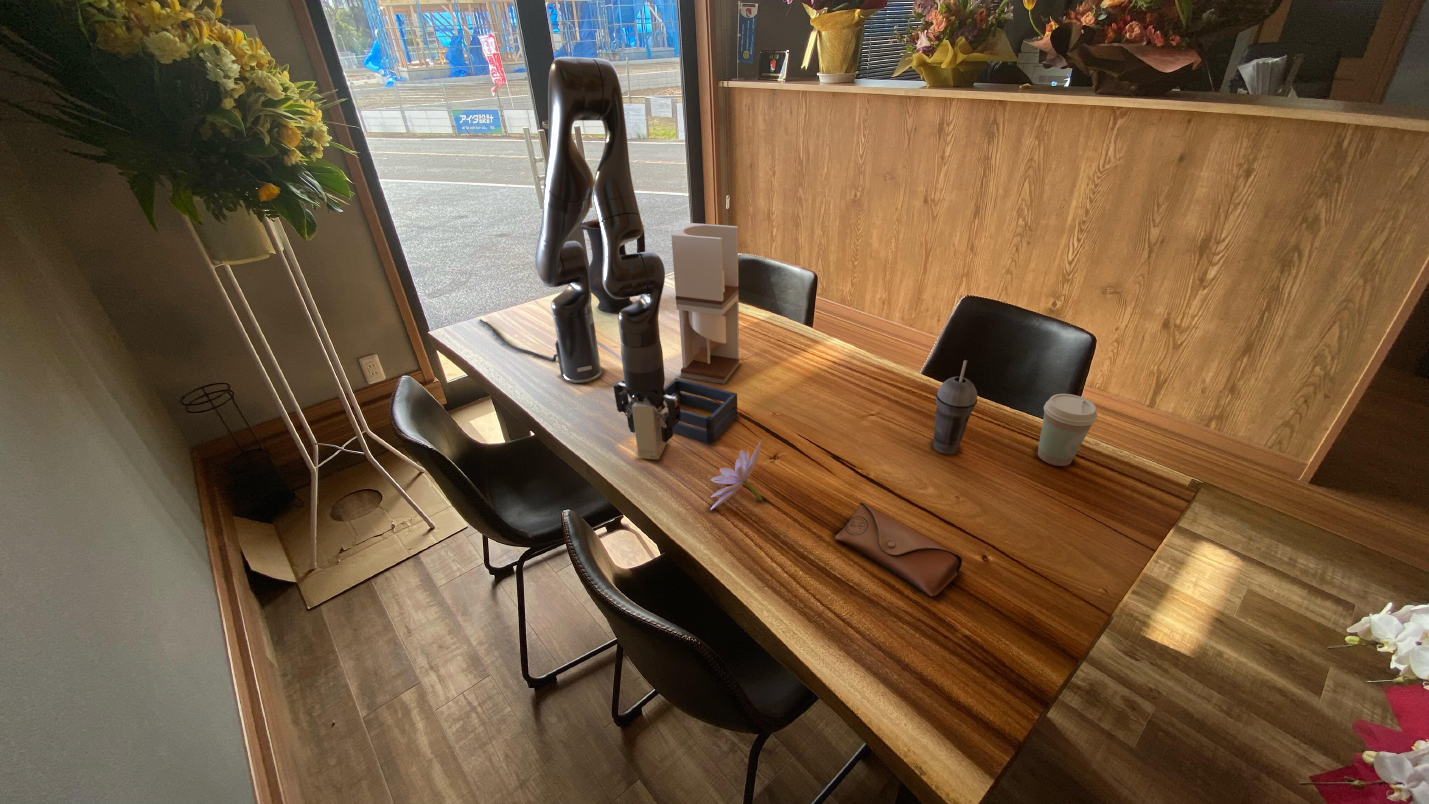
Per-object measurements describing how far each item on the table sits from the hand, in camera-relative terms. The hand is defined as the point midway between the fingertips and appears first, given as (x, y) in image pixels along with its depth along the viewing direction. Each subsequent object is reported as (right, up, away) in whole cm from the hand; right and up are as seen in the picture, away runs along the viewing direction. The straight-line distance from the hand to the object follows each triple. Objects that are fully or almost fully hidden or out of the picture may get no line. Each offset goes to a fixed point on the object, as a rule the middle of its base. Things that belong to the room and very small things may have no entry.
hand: (650, 435), depth 114 cm
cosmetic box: (0, -3, +2) cm, 4 cm away
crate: (+8, +2, +11) cm, 14 cm away
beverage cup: (+59, -3, 0) cm, 59 cm away
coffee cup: (+78, -4, -4) cm, 78 cm away
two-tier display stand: (+12, +14, +30) cm, 36 cm away
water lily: (+17, -10, -10) cm, 22 cm away
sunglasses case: (+41, -18, -24) cm, 51 cm away
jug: (-18, +36, +68) cm, 79 cm away
